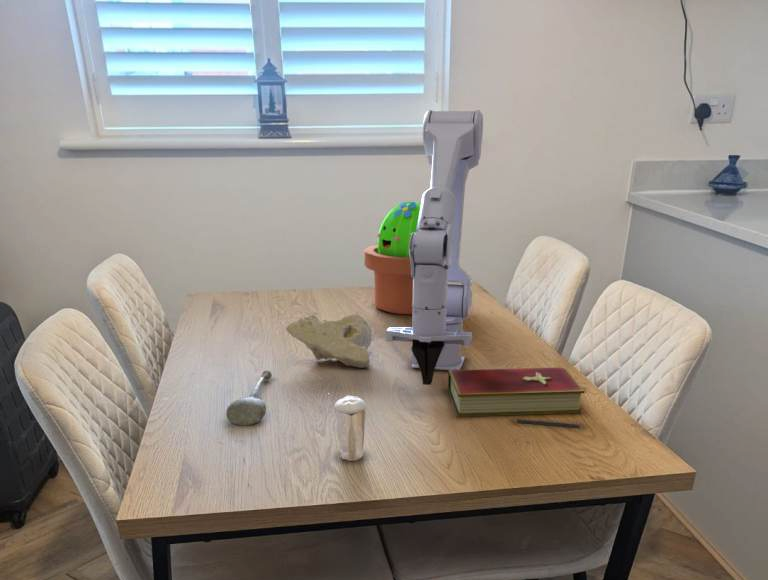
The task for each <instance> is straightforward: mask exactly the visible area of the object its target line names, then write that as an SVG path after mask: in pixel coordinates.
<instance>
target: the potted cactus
mask: <svg viewBox="0 0 768 580" xmlns="http://www.w3.org/2000/svg"><path fill="white" fill-rule="evenodd" d="M420 206H421V202H420V201H419V200H417V199H415V200H414V201H407V200H405V201H403V202H400V204H396V205H395V206H394V207H393V208H392V209H390V210H389V212H388V213H387V214H386V215H385V216H384V218H383V216H382V217H381V221H382V222H381V224H380V226H379V230H378V233H377V235H376V236H377V244H374V245H371V246H368V247H365V249H364V250H363V257H364V262H363V263H364V267H365V268H366V269H368V270H370V271H373V274H374V281H373V283H374V284H373V285H374V305H375V307H376V308H377V309H379V310H381V311H383V312H387V313H392V314H397V315H413V278H411V264H410V257H409V244H410V238H411V234H412V233H413V232H414V233H416V229H417V224H418V218H419V212H420Z"/></svg>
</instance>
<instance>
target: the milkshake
mask: <svg viewBox="0 0 768 580" xmlns="http://www.w3.org/2000/svg"><path fill="white" fill-rule="evenodd" d="M327 396H328V398H329V399H330V401H331V403H332V405H333V406H334V413H335V420H336V427H337V436H338V444H339V452H340V457H341V458H342V459H343V460H344V461H348V462H357V461H359V460H362V458H363V456H364V447H365V426H366V414H367V404H366V402H365V401H364V400H363V399H362V398H359V397H358V396H356V395H355V396H352V395H346V396H345V397H343V398H339V399H338V400H336V402H335V403H334V401H333V399H332V398H331V395H330V393H328V394H327Z"/></svg>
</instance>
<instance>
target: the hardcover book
mask: <svg viewBox="0 0 768 580" xmlns="http://www.w3.org/2000/svg"><path fill="white" fill-rule="evenodd" d="M447 374H448V375H447V377H448V378H447V392H448V395H449V398H450V400H451V403H452V406H453V410H454V412H455V415H456V417H457V418H465V417H466V418H467V417H497V416H501V417H502V416H527V415H528V416H531V415H563V414H565V415H567V414H582V413H583V411H582V409H581V408H580V403H581V397H582V394H585V389H584V388H583V387H582V386H581V385H580V384H579V382H578V381H577V380H576V379H575V377H574V376H573V375H572V374H571V372H570V371H569V370H568V369H567V367H565V366H562V367H561V366H557V367H524V368H523V367H522V368H521V367H520V368H489V369H488V368H487V369H483V368H482V369H481V368H480V369H460V370H448V373H447Z"/></svg>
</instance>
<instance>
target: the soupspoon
mask: <svg viewBox="0 0 768 580" xmlns="http://www.w3.org/2000/svg"><path fill="white" fill-rule="evenodd" d="M261 374H262V375H261V376H260V378H259V380H258V381H257V382H256V384H255V385H254V388H253V389H252V391H251V392H250V394H249V396H247V397H242V398H238V399H236V400H234V401H233V402H230V404H229V405H228V406H227V408H226V411H225V412H226V418H227V419H228V420H229V421H230V423H232V424H234V425H237V426H240V427H242V426H243V427H247V426H252V425H255V424H257V423H259V422H260V421H261V420H262V419H263V418H264V417H265V414H266V411H267V405H266V403H265V402H264V400H262V399H260V398H257V397H256V394H257V392H258V390H259V389H260V387H261V384H262V383H263V382H264V381H265V380H271V378H272V372H271V370H264V371H262V373H261Z"/></svg>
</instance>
